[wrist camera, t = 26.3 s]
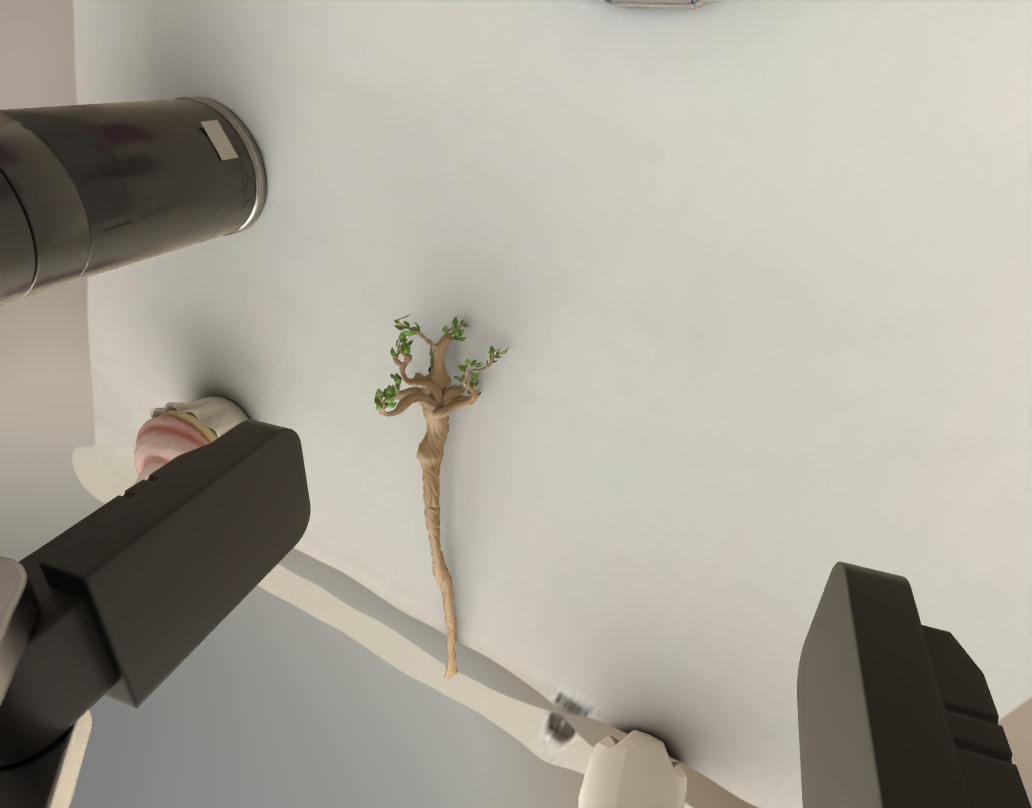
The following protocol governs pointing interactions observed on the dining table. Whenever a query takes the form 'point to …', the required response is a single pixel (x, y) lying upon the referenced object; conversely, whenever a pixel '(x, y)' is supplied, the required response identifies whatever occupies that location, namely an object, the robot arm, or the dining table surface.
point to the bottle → (632, 775)
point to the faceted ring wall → (659, 3)
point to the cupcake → (182, 430)
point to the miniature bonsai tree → (433, 440)
